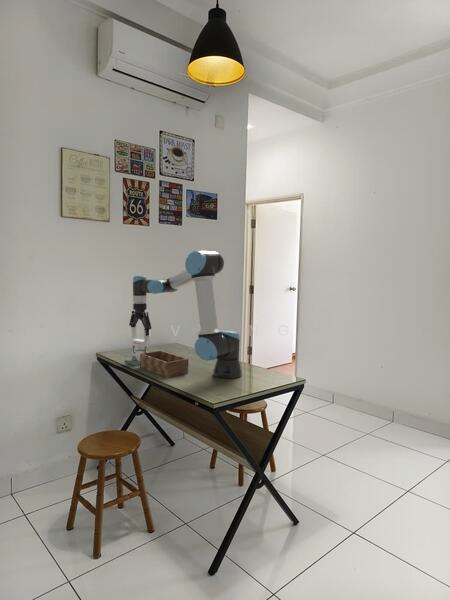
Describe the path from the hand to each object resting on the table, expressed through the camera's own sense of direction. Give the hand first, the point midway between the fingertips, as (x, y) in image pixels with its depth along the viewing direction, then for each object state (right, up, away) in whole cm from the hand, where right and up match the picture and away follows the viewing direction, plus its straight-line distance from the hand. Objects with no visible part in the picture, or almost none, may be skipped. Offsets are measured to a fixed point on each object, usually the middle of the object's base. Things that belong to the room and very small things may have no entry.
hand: (140, 339), depth 240 cm
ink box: (0, -12, +1) cm, 12 cm away
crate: (+16, -15, -15) cm, 26 cm away
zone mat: (-1, -13, +1) cm, 13 cm away
